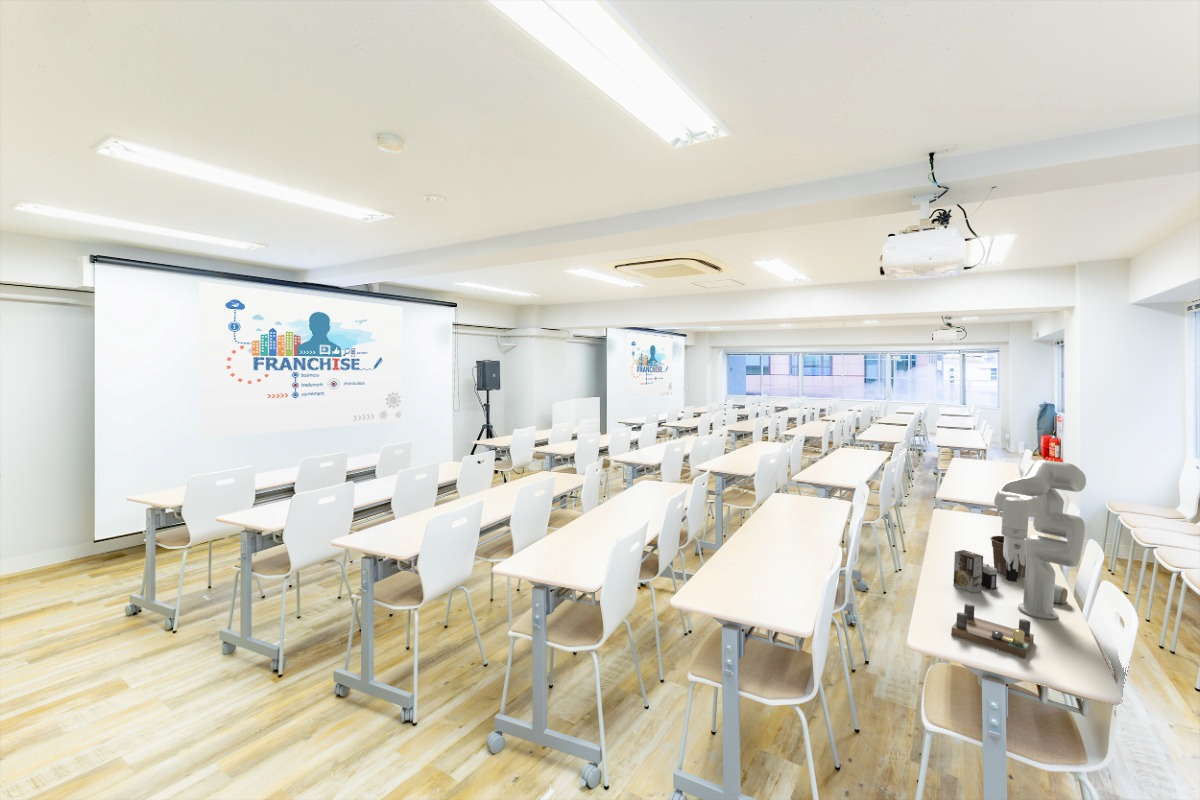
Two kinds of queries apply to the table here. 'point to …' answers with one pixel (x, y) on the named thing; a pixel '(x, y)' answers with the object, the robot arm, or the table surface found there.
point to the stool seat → (990, 632)
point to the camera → (989, 577)
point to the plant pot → (999, 558)
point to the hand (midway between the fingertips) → (1011, 580)
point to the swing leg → (1016, 640)
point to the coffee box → (968, 571)
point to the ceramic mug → (1060, 594)
